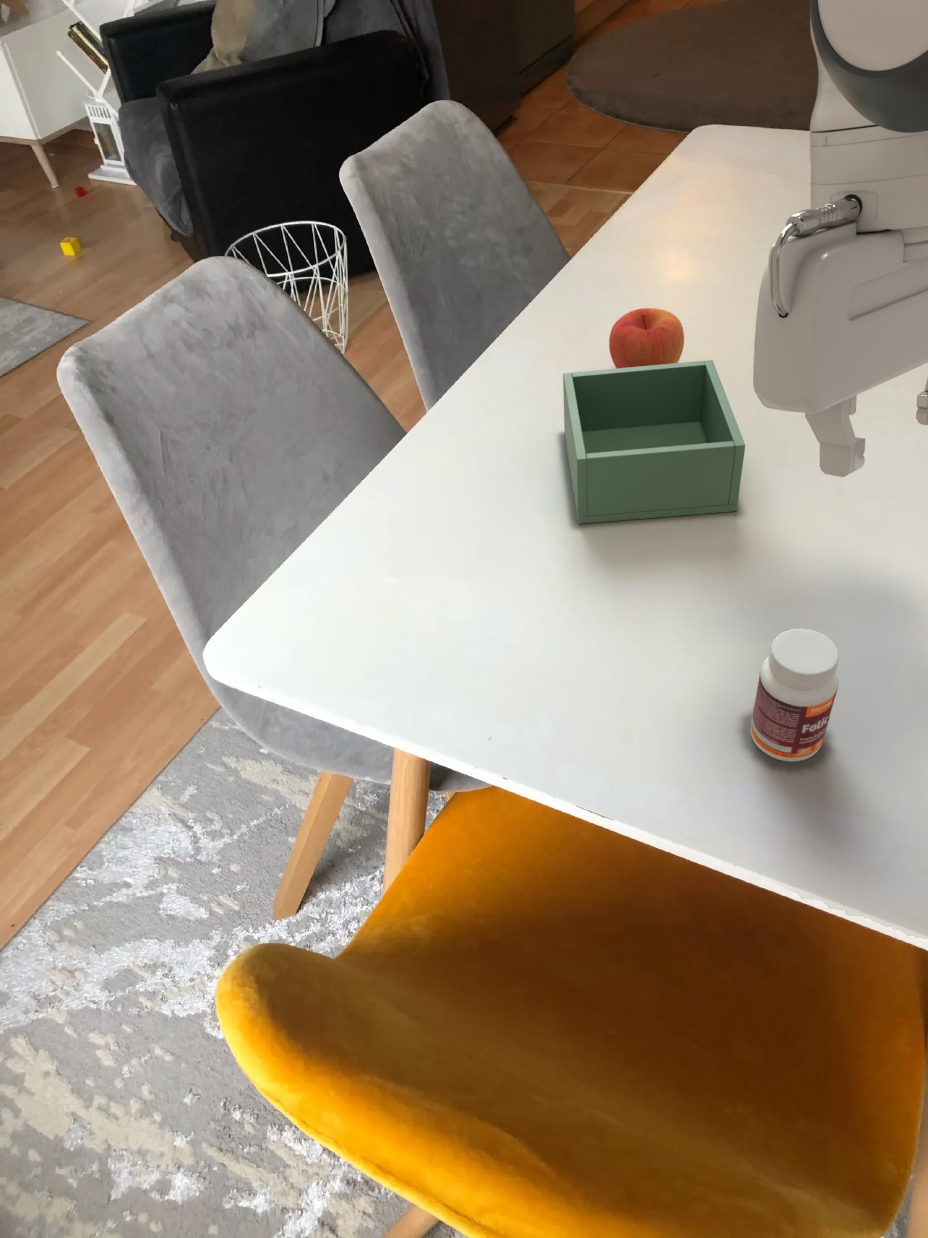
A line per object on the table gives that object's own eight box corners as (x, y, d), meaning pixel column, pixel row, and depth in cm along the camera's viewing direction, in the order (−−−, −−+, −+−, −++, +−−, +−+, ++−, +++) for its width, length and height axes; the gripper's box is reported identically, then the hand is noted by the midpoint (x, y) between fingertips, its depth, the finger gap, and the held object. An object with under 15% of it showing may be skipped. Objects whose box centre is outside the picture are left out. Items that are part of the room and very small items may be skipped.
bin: (706, 423, 92) (712, 359, 87) (736, 511, 82) (745, 445, 77) (564, 435, 93) (562, 373, 88) (578, 524, 83) (577, 459, 78)
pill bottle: (805, 775, 63) (827, 691, 57) (737, 743, 65) (751, 659, 59) (834, 727, 65) (858, 641, 59) (768, 698, 67) (784, 613, 62)
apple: (685, 362, 100) (690, 289, 94) (676, 400, 95) (681, 326, 89) (615, 358, 102) (616, 287, 96) (603, 396, 97) (603, 323, 91)
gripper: (835, 215, 41) (830, 517, 47) (1065, 146, 51) (1037, 402, 57) (716, 221, 46) (727, 495, 52) (948, 157, 56) (934, 392, 62)
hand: (891, 446), depth 54 cm, fingers open, 8 cm apart
